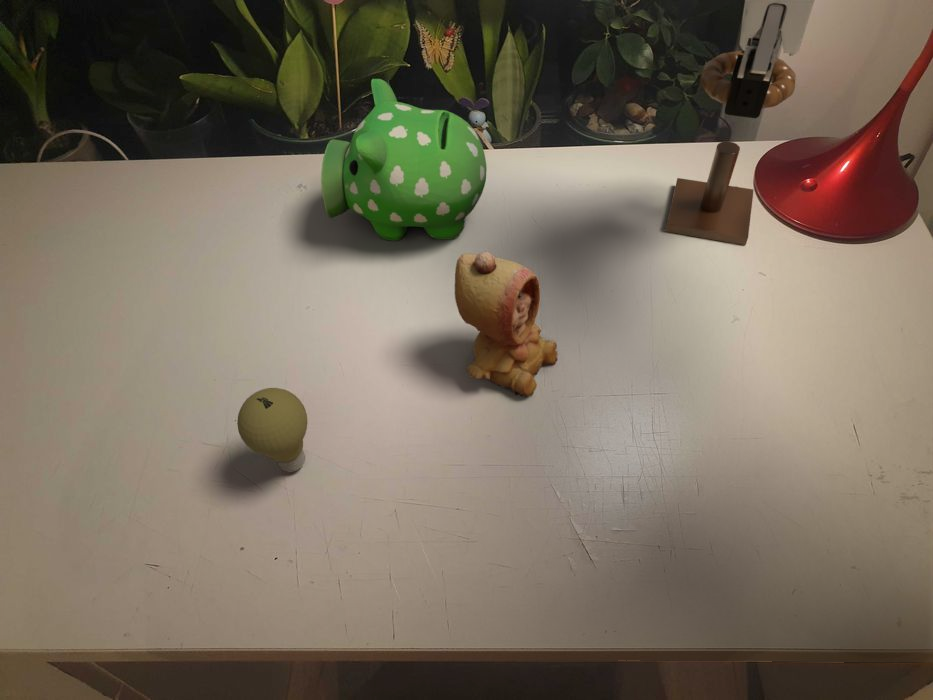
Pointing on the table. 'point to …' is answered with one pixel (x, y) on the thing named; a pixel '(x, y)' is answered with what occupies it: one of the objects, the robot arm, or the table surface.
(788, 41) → the robot arm
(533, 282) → the figurine
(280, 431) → the light bulb
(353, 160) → the piggy bank
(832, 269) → the table surface
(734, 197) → the post
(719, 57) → the ring
